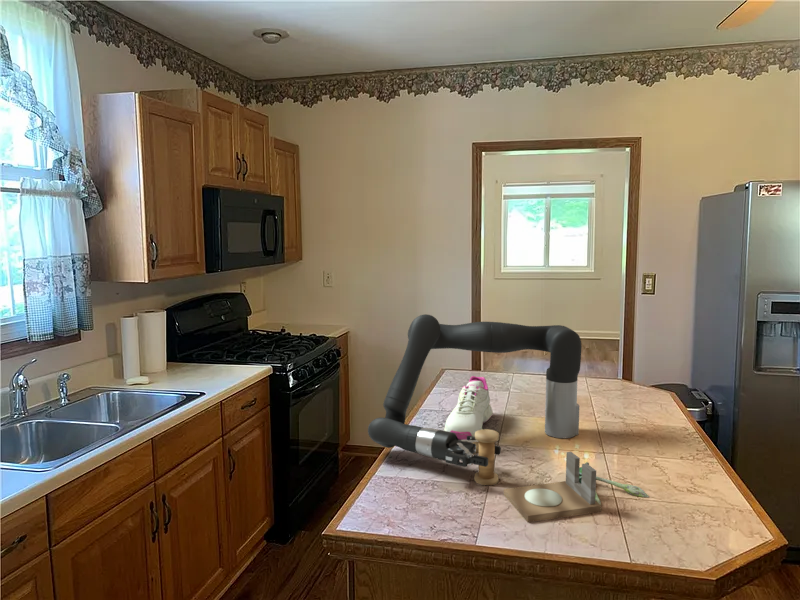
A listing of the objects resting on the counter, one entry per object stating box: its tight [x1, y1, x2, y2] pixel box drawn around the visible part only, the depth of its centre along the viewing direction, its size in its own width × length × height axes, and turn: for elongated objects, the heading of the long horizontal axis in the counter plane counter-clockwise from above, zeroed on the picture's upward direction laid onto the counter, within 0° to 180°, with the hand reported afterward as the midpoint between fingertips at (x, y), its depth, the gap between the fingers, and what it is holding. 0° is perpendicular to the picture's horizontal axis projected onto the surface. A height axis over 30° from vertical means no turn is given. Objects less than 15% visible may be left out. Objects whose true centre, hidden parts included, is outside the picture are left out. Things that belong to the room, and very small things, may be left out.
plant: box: [579, 461, 650, 506], centre depth 142 cm, size 15×16×6 cm
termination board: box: [503, 451, 602, 523], centre depth 134 cm, size 18×13×10 cm
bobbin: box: [474, 428, 500, 486], centre depth 146 cm, size 6×6×12 cm
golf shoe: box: [443, 375, 494, 440], centre depth 180 cm, size 12×33×15 cm, turn 163°
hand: (494, 456), depth 145 cm, fingers open, 7 cm apart
